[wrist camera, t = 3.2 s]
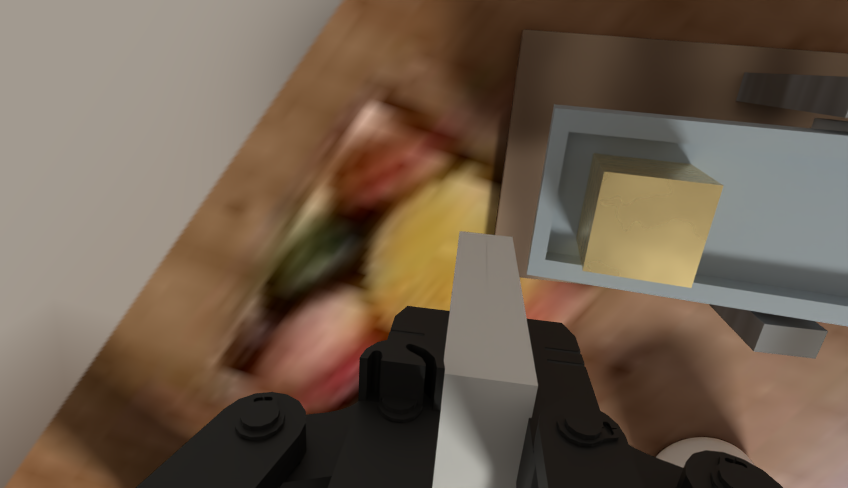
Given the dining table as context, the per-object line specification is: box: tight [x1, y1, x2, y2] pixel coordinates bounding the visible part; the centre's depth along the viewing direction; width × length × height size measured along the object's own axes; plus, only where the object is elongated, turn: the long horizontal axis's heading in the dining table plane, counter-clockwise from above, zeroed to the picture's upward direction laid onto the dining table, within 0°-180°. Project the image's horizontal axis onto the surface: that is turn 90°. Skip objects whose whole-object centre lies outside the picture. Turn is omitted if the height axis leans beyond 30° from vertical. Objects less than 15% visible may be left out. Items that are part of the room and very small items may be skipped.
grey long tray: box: [527, 104, 848, 326], centre depth 24 cm, size 26×9×6 cm, turn 86°
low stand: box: [494, 30, 848, 359], centre depth 26 cm, size 29×16×10 cm, turn 86°
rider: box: [576, 153, 724, 288], centre depth 22 cm, size 4×4×4 cm
